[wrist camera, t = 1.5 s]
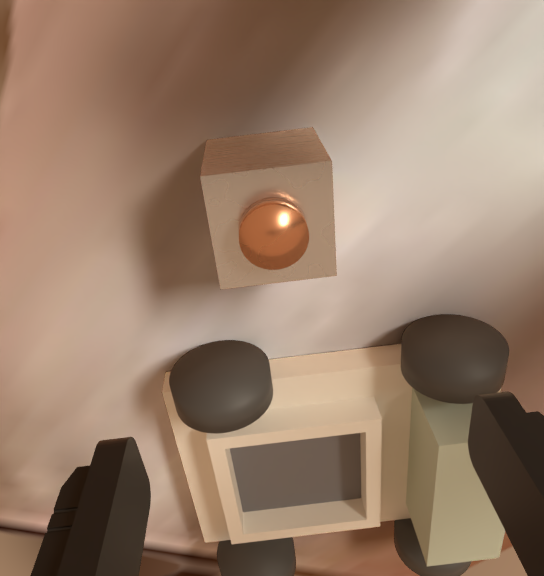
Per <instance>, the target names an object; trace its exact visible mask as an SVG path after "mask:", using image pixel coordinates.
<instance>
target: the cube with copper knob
mask: <svg viewBox="0 0 544 576" xmlns="http://www.w3.org/2000/svg"><path fill="white" fill-rule="evenodd" d="M200 179H201V185H202V190H203V196H204V201H205V207H206V213H207V218H208V224H209V229H210V235H211V240H212V246H213V251H214V257H215V262H216V268H217V273H218V279H219V284H220V290H221V289H230V288H238V287H246V286H255V285H263V284H271V283H280V282H288V281H296V280H305V279H313V278H321V277H329V276H337V272H336V248H335V224H334V200H333V175H332V160H331V158H330V157H329V155H328V153H327V151H326V149H325V148H324V146H323V144H322V142H321V141H320V139H319V137H318V135H317V134H316V132H315V130H314V128H313V127H309V128H301V129H293V130H284V131H276V132H267V133H259V134H251V135H242V136H234V137H226V138H217V139H209V140H207V142H206V147H205V153H204V158H203V163H202V169H201V174H200Z"/></svg>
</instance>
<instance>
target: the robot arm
mask: <svg viewBox="0 0 544 576" xmlns="http://www.w3.org/2000/svg"><path fill="white" fill-rule="evenodd" d="M468 450H469V455H470V459H471V462H472V465H473V467H474V469H475V471H476V473H477V475H478V477H479V479H480V481H481V483H482V485H483V487H484V489H485V491H486V493H487V495H488V497H489V499H490V501H491V503H492V505H493V507H494V509H495V511H496V513H497V515H498V517H499V519H500V521H501V523H502V525H503V527H504V529H505V531H506V533H507V535H508V537H509V539H510V541H511V543H512V545H513V547H514V549H515V551H516V553H517V555H518V557H519V559H520V561H521V563H522V565H523V567H524V569H525V571H526V573H527V575H528V576H544V416H543V415H542V414H541V413H539V412H530V413H526V412H525V410H524V409H523V408H522V406H521V405H520V403H519V402H518V400H517V399H516V397H515V396H514V395H513V394H512V393H511V392H500V393H492V394H484V395H476V396H475V397H474V400H473V406H472V413H471V420H470V428H469V435H468ZM150 499H151V493H150V483H149V479H148V476H147V473H146V470H145V467H144V464H143V461H142V458H141V456H140V453H139V450H138V447H137V444H136V442H135V439H134V438H133V437H127V438H119V439H110V440H102V441H99V442H98V444H97V446H96V449H95V452H94V455H93V458H92V462H91V465H90V466H83V467H77V468H76V469H75V471H74V472H73V473H72V475H71V476H70V477H69V478H68V480H67V481H66V482H65V484H64V485H63V486H62V487H61V490H60V493H59V496H58V499H57V502H56V504H55V507H54V514H52V516H51V519H50V522H49V525H48V527H47V530H48V531H47V533H45V536H44V539H43V542H42V545H41V548H40V551H39V554H38V556H37V559H36V562H35V565H34V568H33V571H32V573H31V576H139V570H140V564H141V557H142V552H143V546H144V540H145V534H146V528H147V521H148V515H149V509H150Z"/></svg>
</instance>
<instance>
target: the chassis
mask: <svg viewBox="0 0 544 576" xmlns="http://www.w3.org/2000/svg"><path fill="white" fill-rule="evenodd" d="M508 356H509V346H508V343H507V341H506V339H505V338H504V337H503V335H502V334H501V333H500V332H499V331H497V330H496V329H495V328H493V327H492V326H490V325H488V324H487V323H484V322H482V321H480V320H477V319H474V318H470V317H466V316H461V315H451V314H442V315H433V316H428V317H424V318H421V319H419V320H417V321H415V322H413V323H412V324H410V325H409V326H408V327H407V328H406V329H405V331H404V333H403V335H402V342H401V344H395V345H386V346H378V347H370V348H361V349H353V350H345V351H336V352H328V353H320V354H311V355H303V356H294V357H286V358H278V359H269V360H268V357H267V356H266V354H265V353H264V352H263V351H262V350H261V349H260V348H258V347H256V346H255V345H252V344H250V343H247V342H243V341H236V340H224V341H216V342H211V343H208V344H205V345H202V346H199V347H197V348H195V349H193V350H191V351H190V352H188V353H187V354H185V355H184V356H183V357H181V358H180V359H179V360H178V361H177V363H176V364H175V365H174V367H173V368H172V370H171V371H169V372H166V373H165V379H164V384H163V389H162V395H163V398H164V402H165V405H166V409H167V412H168V416H169V419H170V423H171V426H172V430H173V433H174V437H175V440H176V443H177V447H178V450H179V454H180V457H181V461H182V464H183V468H184V471H185V475H186V478H187V482H188V485H189V489H190V492H191V496H192V499H193V503H194V506H195V510H196V513H197V517H198V520H199V524H200V527H201V531H202V534H203V538H204V541H205V543H208V542H216V541H220V542H219V545H218V549H217V560H218V565H219V568H220V572H221V576H294V573H295V569H296V557H295V550H294V543H293V538H292V537H297V536H305V535H314V534H322V533H330V532H339V531H347V530H355V529H364V528H372V527H380V522H383V521H391V520H395V524H394V543H395V548H396V550H397V553H398V555H399V557H400V558H401V560H402V561H403V562H404V563H405V565H406V566H407V567H408V568H409V569H411V570H412V571H413V572H415V573H416V574H418V575H420V576H460V575H462V574H463V573H464V572H465V571H466V570H467V569H468V567H469V566H470V564H471V561H477V560H485V559H494V558H499V556H500V551H501V547H502V543H503V538H504V534H505V529H504V527H503V525H502V523H501V521H500V519H499V517H498V515H497V513H496V511H495V509H494V507H493V505H492V503H491V501H490V499H489V497H488V495H487V493H486V491H485V489H484V487H483V485H482V483H481V481H480V479H479V477H478V475H477V473H476V471H475V469H474V467H473V465H472V462H471V459H470V455H469V450H468V435H469V428H470V420H471V413H472V406H473V400H474V397H475V396H476V395H484V394H492V393H500V392H501V388H502V385H503V383H504V378H505V373H506V367H507V361H508Z"/></svg>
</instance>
